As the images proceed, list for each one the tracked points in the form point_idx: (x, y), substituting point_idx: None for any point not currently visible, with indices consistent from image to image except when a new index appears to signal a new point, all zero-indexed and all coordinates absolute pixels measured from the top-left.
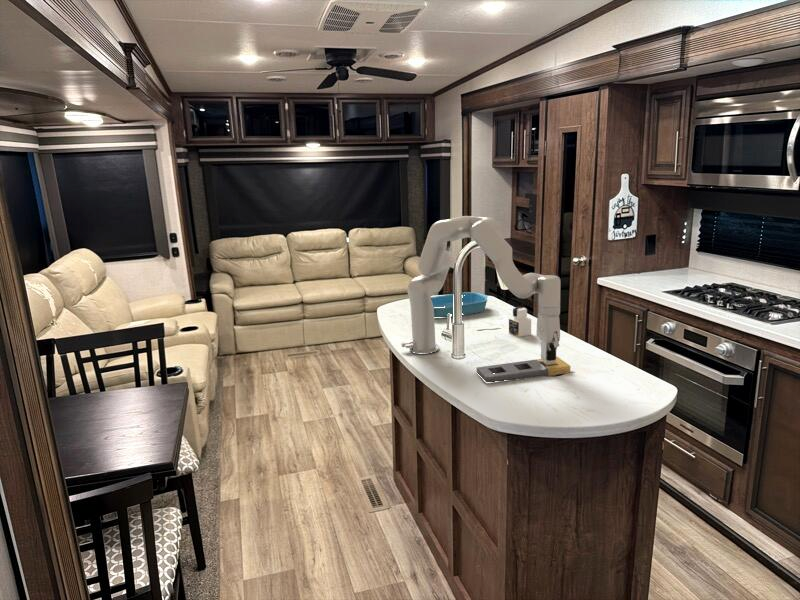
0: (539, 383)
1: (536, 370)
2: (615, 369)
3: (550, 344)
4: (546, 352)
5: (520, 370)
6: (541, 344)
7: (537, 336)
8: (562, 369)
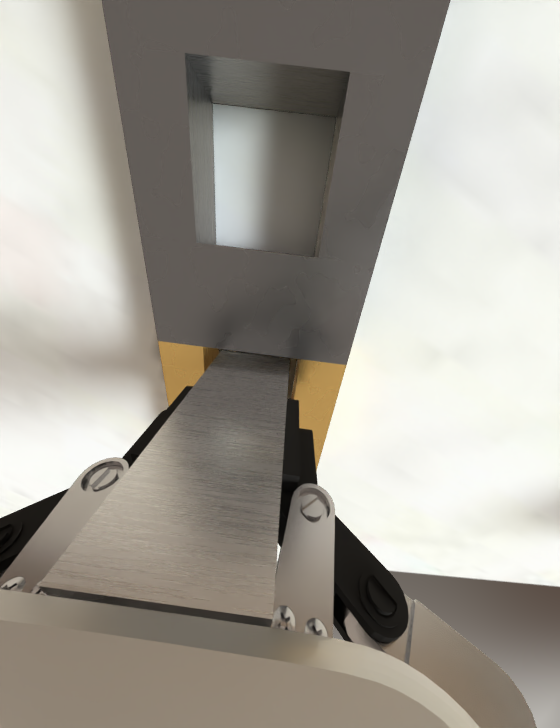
0: (64, 201)
1: (144, 244)
2: None
3: (26, 566)
4: (165, 429)
5: (173, 65)
6: (269, 496)
7: (388, 694)
8: None
